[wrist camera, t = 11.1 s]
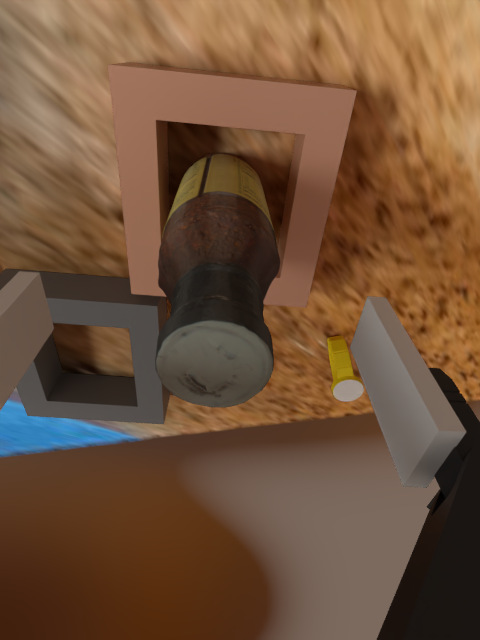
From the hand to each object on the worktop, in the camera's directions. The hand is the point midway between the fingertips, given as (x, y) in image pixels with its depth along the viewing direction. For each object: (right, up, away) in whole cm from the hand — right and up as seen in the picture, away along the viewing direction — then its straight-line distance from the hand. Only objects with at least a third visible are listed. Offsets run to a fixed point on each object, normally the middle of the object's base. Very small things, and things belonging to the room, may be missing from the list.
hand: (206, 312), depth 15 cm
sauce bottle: (0, +10, +13) cm, 16 cm away
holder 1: (-13, -2, +22) cm, 26 cm away
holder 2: (0, +10, +13) cm, 16 cm away
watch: (+11, -3, +23) cm, 25 cm away
